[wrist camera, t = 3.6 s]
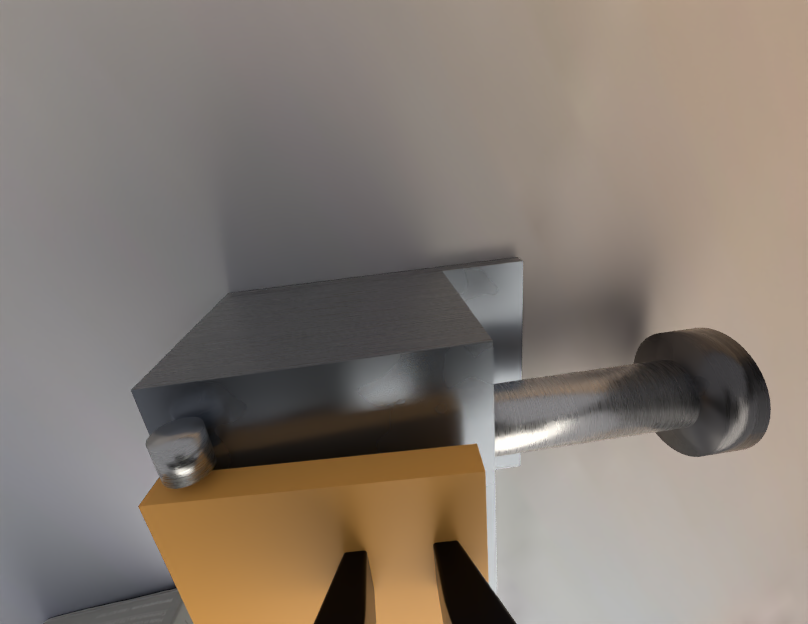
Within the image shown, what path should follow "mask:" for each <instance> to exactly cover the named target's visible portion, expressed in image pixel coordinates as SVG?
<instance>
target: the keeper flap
mask: <svg viewBox="0 0 808 624" xmlns="http://www.w3.org/2000/svg"><path fill="white" fill-rule="evenodd" d="M138 507H139V509H140V511H141V513H142V515H143V517H144V520H145V522H146V524H147V526H148V528H149V530H150V532H151V534H152V536H153V539H154V541H155V543H156V545H157V547H158V549H159V551H160V553H161V556H162V558H163V560H164V562H165V564H166V566H167V568H168V570H169V573H170V575H171V577H172V579H173V581H174V583H175V585H176V587H177V589H178V592H179V594H180V596H181V598H182V600H183V602H184V604H185V606H186V609H187V611H188V613H189V615H190V617H191V619H192V621H193V623H194V624H314V621H315V619H316V617H317V614H318V612H319V610H320V607H321V605H322V603H323V601H324V598H325V596H326V594H327V591H328V589H329V587H330V584H331V582H332V580H333V577H334V575H335V573H336V570H337V568H338V566H339V564H340V561H341V559H342V557H343V554H344V553H346V552H353V551H366V552H367V555H368V560H369V565H370V570H371V575H372V581H373V586H374V594H375V610H376V624H443V619H442V613H441V607H440V601H439V594H438V588H437V581H436V571H435V561H434V551H433V544H434V543H436V542H445V541H455V540H456V541H458V542H459V543H460V544H461V546H462V547H463V548H464V550H465V551H466V553H467V554H468V556H469V557H470V558H471V560H472V561H473V563H474V564H475V565H476V567H477V568H478V570H479V571H480V573H481V574H482V575H483V577H484V578H485V580H486V581H487V582H488V584H489V578H488V544H487V509H486V475H485V468H484V465H483V462H482V458H481V455H480V452H479V448H478V445H477V444H468V445H458V446H448V447H438V448H429V449H419V450H409V451H399V452H389V453H379V454H369V455H360V456H350V457H340V458H330V459H320V460H310V461H300V462H290V463H281V464H271V465H261V466H251V467H241V468H231V469H221V470H212V471H211V472H210V473H209V474H208V475H207V476H205V477H204V478H203V479H201V480H200V481H198V482H196V483H194V484H192V485H190V486H187V487H183V488H178V489H170V488H167V487H165V486H164V485H163V484H162V482H161V479H160V477H159V478H158V480H157V481H156V483H155V484H154V485H153V487H152V488H151V490H150V491H149V492H148V494H147V495H146V496H145V498H144V499H143V501H142V502H141V503H140V505H139V506H138Z"/></svg>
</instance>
